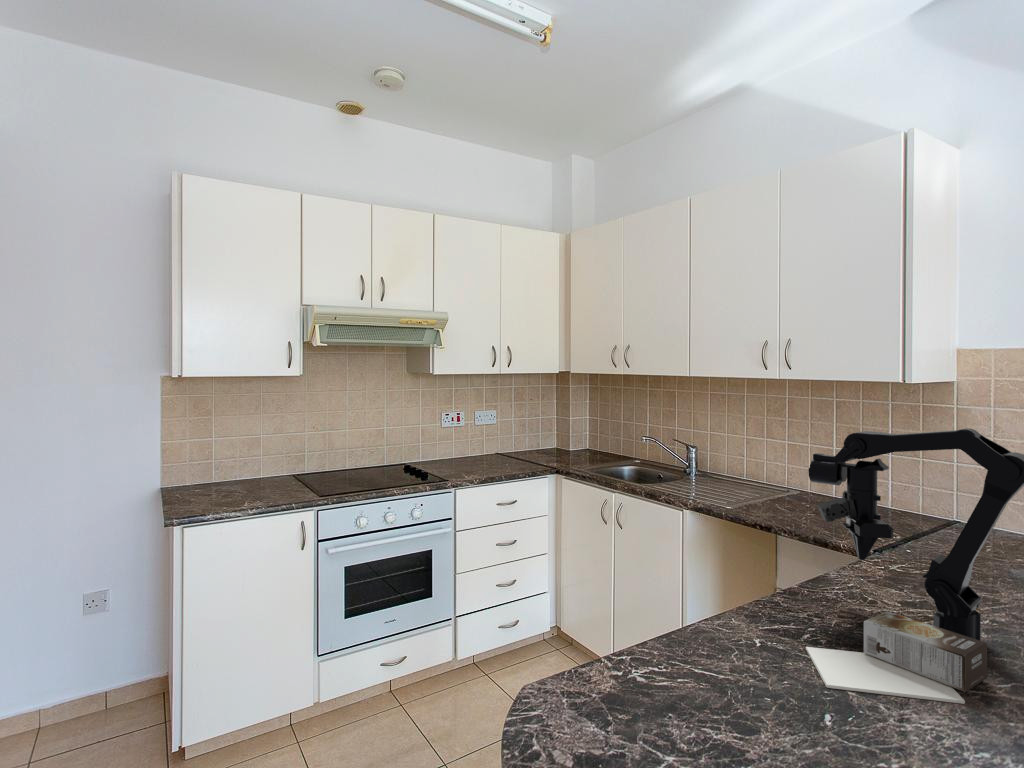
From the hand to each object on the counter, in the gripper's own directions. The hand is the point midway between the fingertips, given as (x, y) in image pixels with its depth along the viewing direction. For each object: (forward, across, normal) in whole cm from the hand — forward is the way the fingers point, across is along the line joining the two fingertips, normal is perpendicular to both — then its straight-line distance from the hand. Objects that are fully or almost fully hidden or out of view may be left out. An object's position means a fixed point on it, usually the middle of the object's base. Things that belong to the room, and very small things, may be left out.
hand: (861, 559), depth 127 cm
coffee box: (+8, +18, -4) cm, 20 cm away
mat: (+12, +28, -6) cm, 31 cm away
